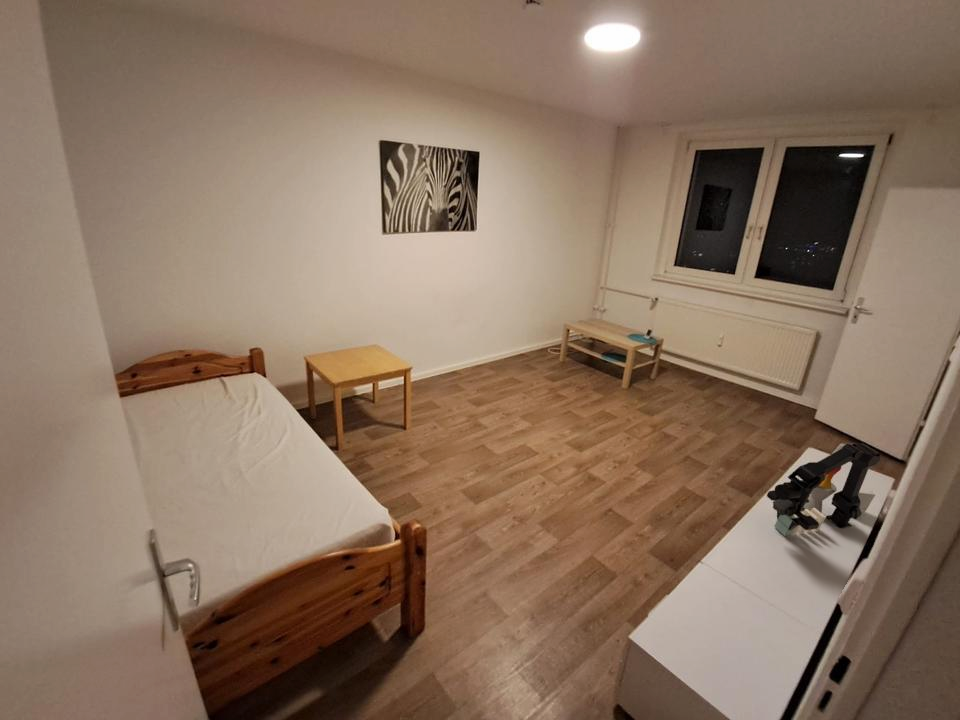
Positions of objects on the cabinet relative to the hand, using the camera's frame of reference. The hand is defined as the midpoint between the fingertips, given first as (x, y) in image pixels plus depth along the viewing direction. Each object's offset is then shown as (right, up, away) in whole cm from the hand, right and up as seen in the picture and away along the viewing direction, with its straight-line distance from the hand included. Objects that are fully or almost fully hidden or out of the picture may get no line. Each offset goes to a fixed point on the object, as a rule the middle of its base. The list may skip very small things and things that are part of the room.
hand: (783, 524), depth 175 cm
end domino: (+15, -3, +6) cm, 16 cm away
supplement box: (+40, 0, +17) cm, 44 cm away
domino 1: (0, -3, +1) cm, 3 cm away
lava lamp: (+21, 0, +14) cm, 26 cm away
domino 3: (+7, -3, +4) cm, 9 cm away
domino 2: (+3, -3, +3) cm, 6 cm away
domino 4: (+11, -3, +5) cm, 13 cm away
